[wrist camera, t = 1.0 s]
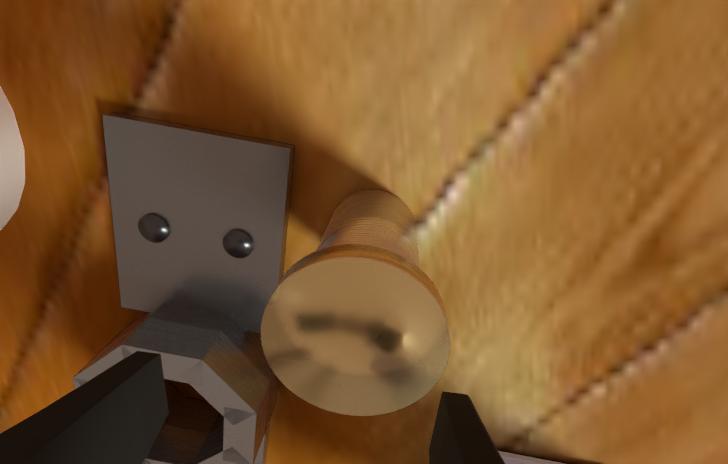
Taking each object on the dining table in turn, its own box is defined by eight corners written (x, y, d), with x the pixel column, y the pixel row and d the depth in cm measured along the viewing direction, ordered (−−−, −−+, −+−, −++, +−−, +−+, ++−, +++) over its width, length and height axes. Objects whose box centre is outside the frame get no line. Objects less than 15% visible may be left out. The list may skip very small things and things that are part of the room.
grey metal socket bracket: (107, 111, 17) (28, 123, 13) (302, 146, 17) (275, 168, 13) (144, 499, 28) (105, 565, 24) (264, 522, 28) (243, 592, 24)
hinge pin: (441, 187, 17) (472, 282, 10) (415, 288, 19) (425, 430, 12) (324, 166, 17) (267, 243, 10) (311, 269, 19) (255, 397, 12)
